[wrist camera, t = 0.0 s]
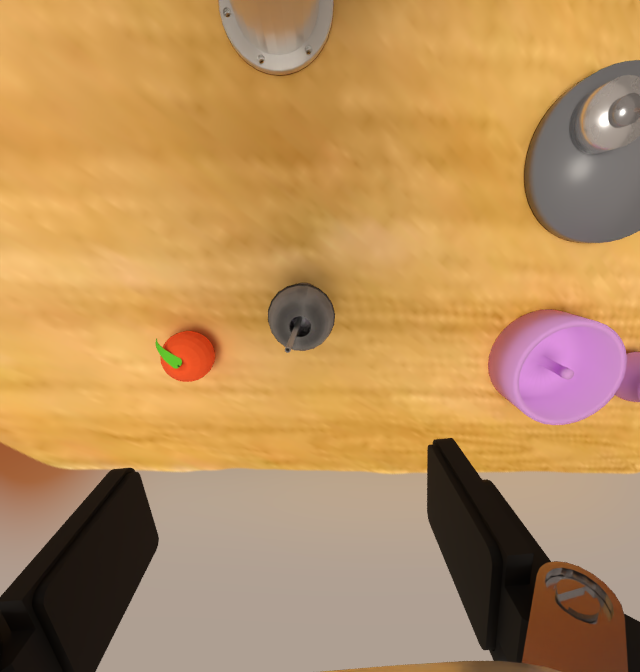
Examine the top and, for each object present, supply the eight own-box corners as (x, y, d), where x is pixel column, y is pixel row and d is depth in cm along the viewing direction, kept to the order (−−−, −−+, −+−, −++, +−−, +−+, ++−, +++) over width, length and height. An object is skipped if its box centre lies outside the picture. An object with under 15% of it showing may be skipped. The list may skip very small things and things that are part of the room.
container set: (475, 396, 52) (528, 447, 39) (505, 302, 47) (576, 325, 35) (622, 415, 53) (718, 471, 41) (664, 326, 49) (786, 357, 36)
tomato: (157, 347, 48) (132, 365, 41) (183, 311, 46) (161, 323, 40) (203, 378, 49) (186, 400, 43) (230, 344, 48) (216, 362, 41)
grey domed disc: (495, 149, 41) (531, 132, 34) (643, 27, 38) (715, -19, 31) (568, 272, 46) (612, 278, 39) (705, 173, 43) (778, 161, 36)
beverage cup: (340, 300, 47) (359, 344, 27) (302, 333, 48) (295, 396, 29) (305, 261, 45) (301, 278, 26) (267, 296, 46) (235, 337, 27)
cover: (558, 117, 39) (585, 103, 35) (612, 72, 37) (647, 53, 34) (584, 167, 40) (613, 160, 36) (637, 126, 39) (673, 114, 35)
